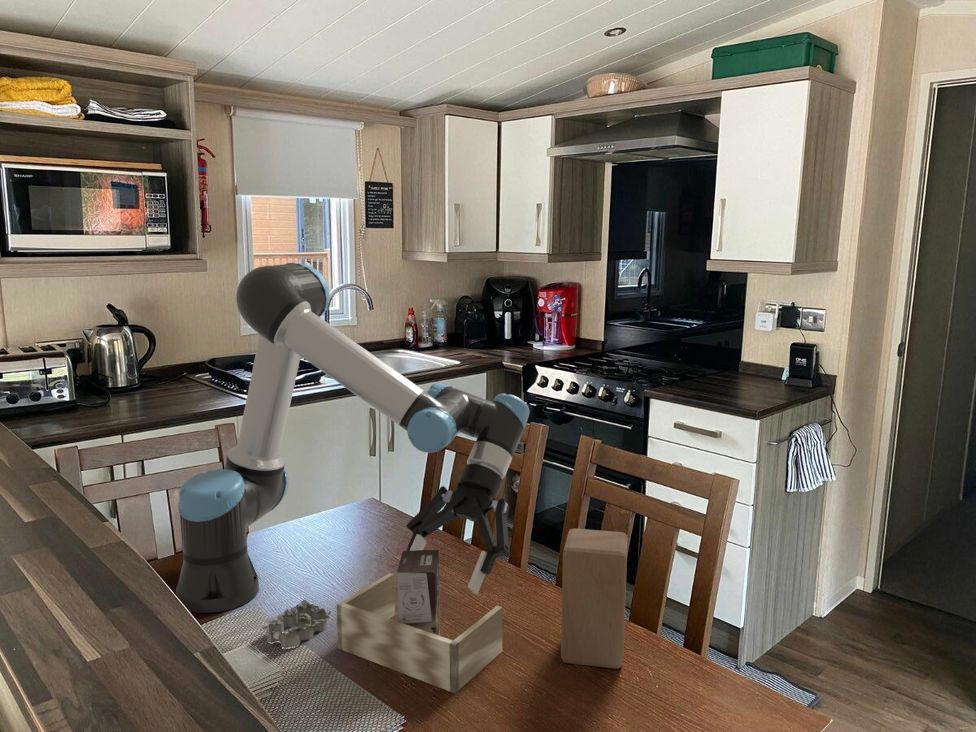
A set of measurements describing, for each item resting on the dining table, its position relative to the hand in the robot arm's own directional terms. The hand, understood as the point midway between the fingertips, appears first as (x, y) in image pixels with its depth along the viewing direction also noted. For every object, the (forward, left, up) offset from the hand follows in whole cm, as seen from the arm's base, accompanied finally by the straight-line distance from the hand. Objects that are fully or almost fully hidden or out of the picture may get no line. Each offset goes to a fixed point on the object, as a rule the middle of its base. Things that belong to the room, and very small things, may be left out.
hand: (438, 581), depth 129 cm
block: (+24, +11, -11) cm, 29 cm away
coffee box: (-1, -4, -11) cm, 12 cm away
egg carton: (-23, -11, -12) cm, 28 cm away
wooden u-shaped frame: (-1, -4, -11) cm, 12 cm away
